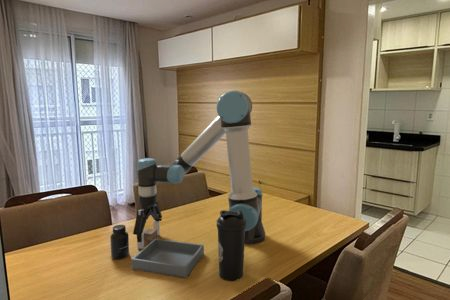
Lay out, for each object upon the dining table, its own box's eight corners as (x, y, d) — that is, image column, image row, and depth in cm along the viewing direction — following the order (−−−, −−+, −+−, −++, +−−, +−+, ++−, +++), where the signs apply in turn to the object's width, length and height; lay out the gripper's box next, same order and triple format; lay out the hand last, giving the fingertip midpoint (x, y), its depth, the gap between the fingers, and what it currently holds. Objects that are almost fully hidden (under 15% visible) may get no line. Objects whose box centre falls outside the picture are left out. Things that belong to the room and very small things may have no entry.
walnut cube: (157, 240, 133) (157, 229, 132) (151, 245, 128) (151, 234, 128) (147, 238, 134) (147, 228, 134) (141, 243, 130) (140, 232, 129)
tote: (203, 254, 120) (203, 244, 120) (186, 278, 103) (186, 267, 103) (155, 247, 126) (155, 238, 125) (131, 269, 109) (131, 259, 109)
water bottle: (216, 267, 111) (215, 207, 107) (243, 265, 112) (243, 206, 108) (217, 283, 101) (217, 218, 97) (247, 281, 102) (248, 216, 98)
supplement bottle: (123, 260, 115) (122, 231, 114) (107, 258, 117) (105, 229, 115) (132, 252, 122) (131, 224, 120) (117, 250, 123) (115, 222, 122)
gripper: (154, 186, 141) (155, 228, 144) (122, 202, 117) (125, 253, 121) (168, 187, 139) (169, 230, 142) (139, 204, 115) (141, 256, 119)
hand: (149, 241), depth 131 cm, fingers open, 13 cm apart
